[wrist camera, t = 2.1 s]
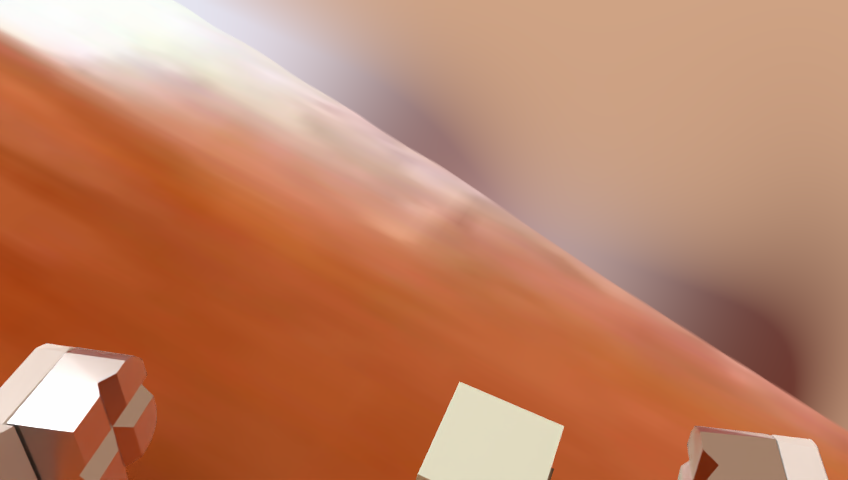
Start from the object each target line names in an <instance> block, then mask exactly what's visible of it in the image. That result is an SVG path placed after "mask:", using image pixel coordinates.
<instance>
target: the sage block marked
mask: <svg viewBox="0 0 848 480" xmlns="http://www.w3.org/2000/svg"><path fill="white" fill-rule="evenodd" d="M563 428H564V426H562V425H560V424H557V423H555V422H553V421H550V420H548V419H546V418H543V417H541V416H539V415H536V414H534V413H532V412H529V411H527V410H525V409H522V408H520V407H518V406H515V405H513V404H511V403H508V402H506V401H504V400H501V399H499V398H497V397H494V396H492V395H490V394H487V393H485V392H483V391H480V390H478V389H475V388H473V387H471V386H468V385H466V384H464V383H461V382H459V384H458V386H457V389H456V391H455V393H454V395H453V398H452V400H451V402H450V404H449V406H448V409H447V411H446V413H445V415H444V417H443V420H442V422H441V424H440V426H439V428H438V431H437V433H436V435H435V437H434V439H433V442H432V444H431V446H430V448H429V450H428V453H427V455H426V457H425V459H424V462H423V464H422V466H421V468H420V470H419V473H418V475H417V479H416V480H551V476H552V473H553V470H554V469H553V468H551V466H552V463H553V460H554V457H555V454H556V450H557V447H558V444H559V441H560V438H561V434H562V431H563Z"/></svg>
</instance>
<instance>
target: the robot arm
mask: <svg viewBox="0 0 848 480" xmlns="http://www.w3.org/2000/svg"><path fill="white" fill-rule="evenodd" d="M146 376H147V372H146V369H145V366H144V363H143V361H142V359H141V358H138V357H135V356H130V355H124V354H117V353H111V352H104V351H97V350H91V349H84V348H78V347H76V348H74V347H68V346H61V345H54V344H48V343H46V344H44V345H42V346H40V347H37V348H36V349H35V350H34V351H33V352H32V353H31V354H30V355H29V356H28V357H27V359H26V360H25V361H24V362H23V363H22V364H21V365H20V366H19V368H18V369H17V370H16V371H15V372H14V373H13V374H12V375H11V376H10V378H9V379H8V380H7V381H6V382H5V383H4V384H3V385H2V387H1V388H0V480H128V478H127V472H126V466H127V465H129V464H131V463H132V462H134V461H135V460H137V459H139V458H140V457H142V456H143V454H144V452H145V451H146V449H147V447H148V445H149V444H150V442H151V440H152V436H153V433H154V429H155V426H156V422H157V415H156V404H155V400H154V396H153V395H152V394H151V393H150V392H149V391H148V390H147V389H146V388H145V387H144V386H143V385H142V382H143V381H144V379H145V378H146ZM687 447H688V454H689V461H688V462H687V463H685V464H684V465H682V466H681V468H680V472H679V476H678V480H828V477H827V474H826V471H825V468H824V465H823V462H822V459H821V456H820V453H819V450H818V447H817V445H816V444H815V443H814V442H813V441H812V440H811V439H804V438H795V437H787V436H778V435H771V436H770V435H768V434H762V433H753V432H744V431H736V430H727V429H718V428H710V427H701V426H695V427H694V428H693V430H692V431H691V434H690V437H689V440H688V444H687Z"/></svg>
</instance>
